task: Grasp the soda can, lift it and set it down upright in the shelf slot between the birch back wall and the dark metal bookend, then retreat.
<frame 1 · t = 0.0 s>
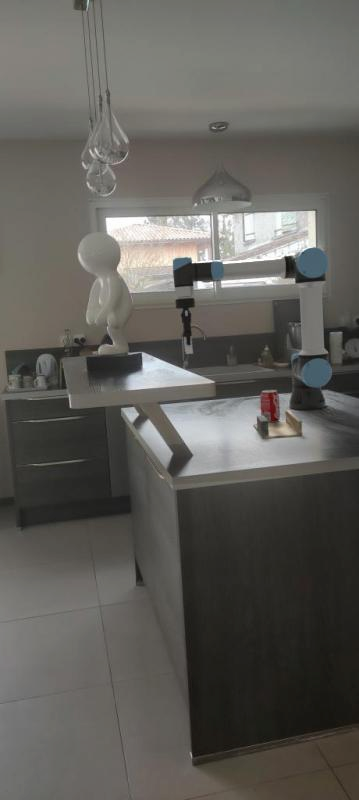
hand: (188, 352, 229), 28 cm above the countertop, fingers open, 13 cm apart
soda can: (270, 422, 222), on the countertop
shelf: (278, 429, 207), on the countertop
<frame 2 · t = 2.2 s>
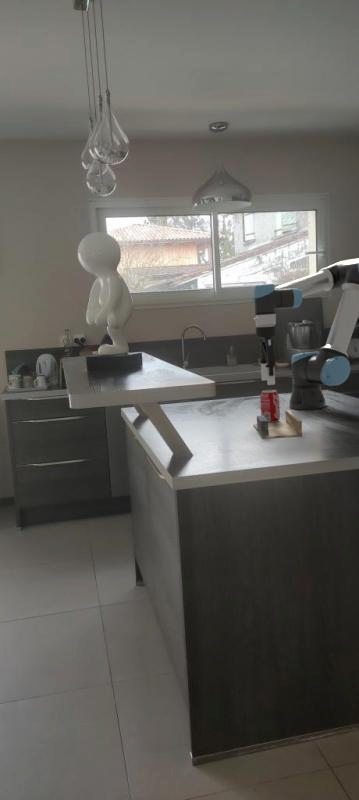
hand: (268, 382, 220), 15 cm above the countertop, fingers open, 13 cm apart
nothing on the countertop moved.
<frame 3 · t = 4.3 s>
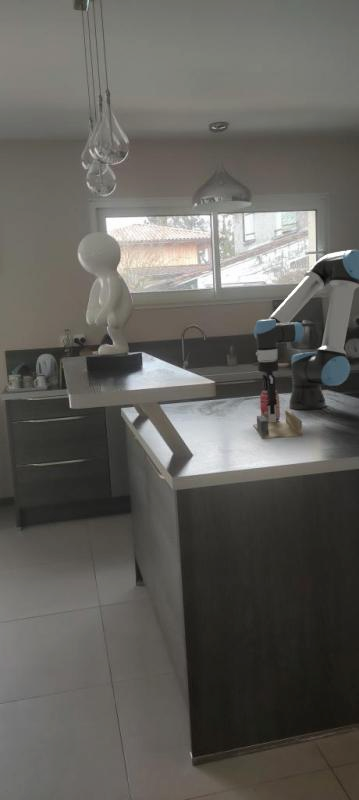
hand: (270, 420, 222), 1 cm above the countertop, fingers closed on soda can, 7 cm apart
soda can: (270, 422, 222), on the countertop, touching gripper
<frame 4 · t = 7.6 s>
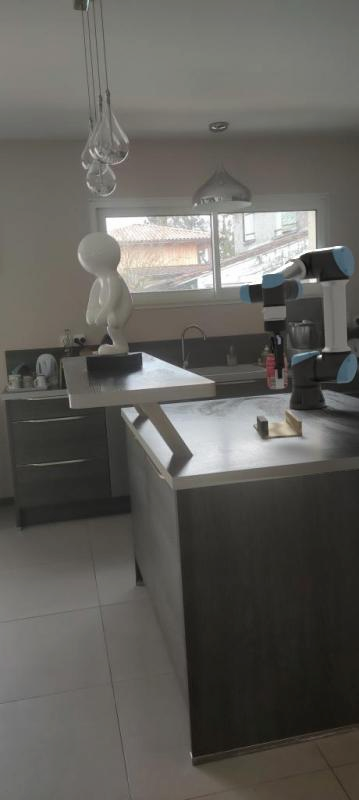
hand: (278, 386, 199), 16 cm above the countertop, fingers closed on soda can, 7 cm apart
soda can: (277, 388, 199), point 16 cm above the countertop, touching gripper
when the fingers open (3 cm above the countertop, at t = 10.9 s): soda can drops 2 cm, resting on shelf.
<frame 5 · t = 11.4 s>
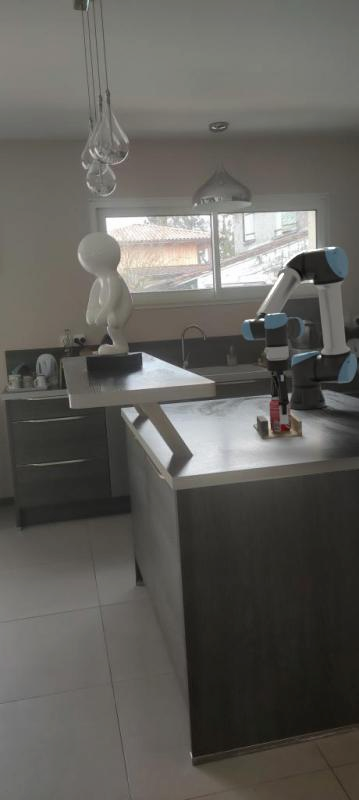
hand: (280, 420, 201), 5 cm above the countertop, fingers open, 13 cm apart
soda can: (281, 432, 201), resting on shelf
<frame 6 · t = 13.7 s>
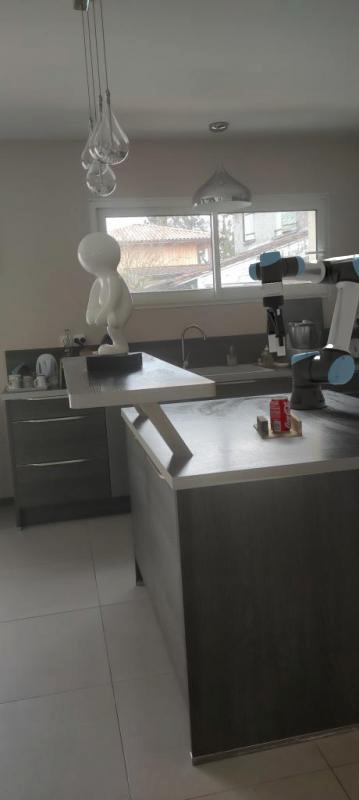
hand: (277, 353, 213), 26 cm above the countertop, fingers open, 13 cm apart
nothing on the countertop moved.
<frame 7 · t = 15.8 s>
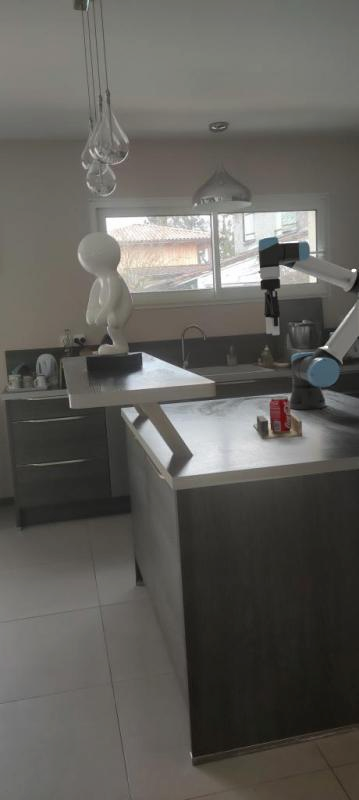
hand: (272, 334, 226), 33 cm above the countertop, fingers open, 13 cm apart
nothing on the countertop moved.
at the end: soda can inside the target area (0.3 cm from its centre), resting on shelf; soda can tilted 0°; the gripper is holding nothing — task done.
